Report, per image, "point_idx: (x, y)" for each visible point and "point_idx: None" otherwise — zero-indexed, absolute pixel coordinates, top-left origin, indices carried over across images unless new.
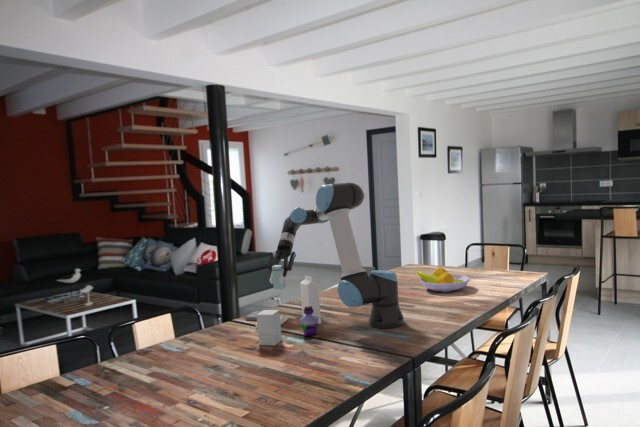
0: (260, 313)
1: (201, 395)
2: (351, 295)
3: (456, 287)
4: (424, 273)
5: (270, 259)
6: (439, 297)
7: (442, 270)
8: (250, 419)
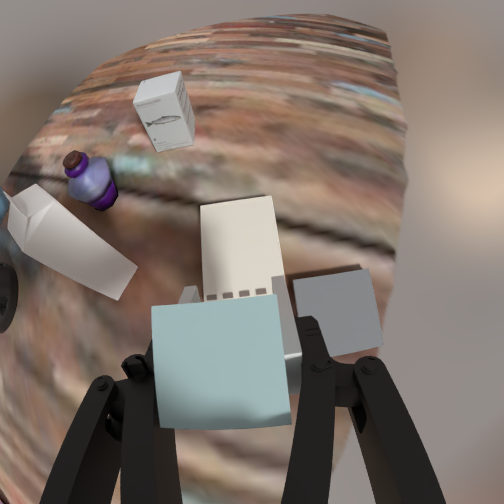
0: (172, 76)
1: (197, 41)
2: None
3: None
4: None
5: (420, 472)
6: None
7: None
8: (140, 47)
